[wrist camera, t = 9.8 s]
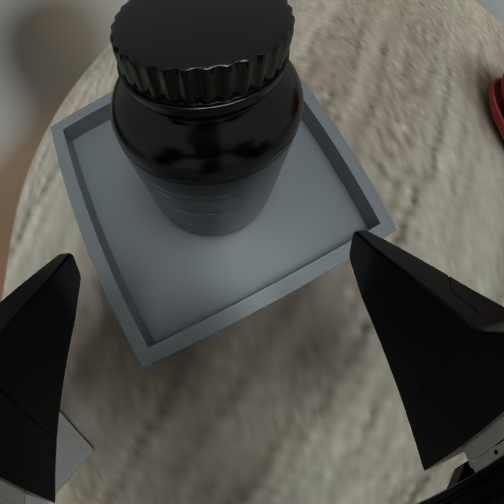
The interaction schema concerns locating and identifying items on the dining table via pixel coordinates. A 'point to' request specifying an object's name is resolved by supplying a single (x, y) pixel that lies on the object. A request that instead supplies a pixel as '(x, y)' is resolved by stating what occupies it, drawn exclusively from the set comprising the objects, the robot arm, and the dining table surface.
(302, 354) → the dining table surface
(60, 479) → the milk carton
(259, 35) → the supplement bottle
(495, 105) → the plant pot
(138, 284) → the charcoal tray
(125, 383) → the dining table surface
